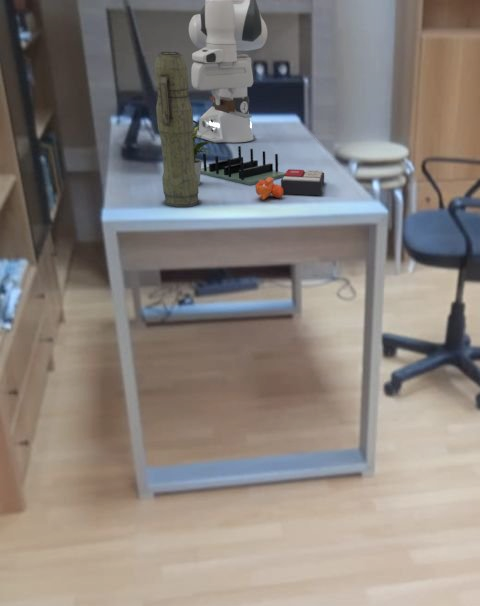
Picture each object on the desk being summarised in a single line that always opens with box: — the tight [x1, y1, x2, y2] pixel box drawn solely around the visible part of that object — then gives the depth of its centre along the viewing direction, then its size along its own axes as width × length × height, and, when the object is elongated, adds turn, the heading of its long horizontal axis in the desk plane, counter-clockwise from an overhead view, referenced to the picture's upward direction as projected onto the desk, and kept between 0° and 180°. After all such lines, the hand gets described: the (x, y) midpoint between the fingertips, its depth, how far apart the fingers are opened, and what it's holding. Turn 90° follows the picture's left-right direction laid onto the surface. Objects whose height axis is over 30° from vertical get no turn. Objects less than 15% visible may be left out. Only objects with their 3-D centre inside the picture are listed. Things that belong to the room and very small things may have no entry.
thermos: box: [154, 51, 200, 208], centre depth 194 cm, size 9×12×35 cm
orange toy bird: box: [254, 177, 284, 201], centre depth 210 cm, size 5×8×12 cm
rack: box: [200, 145, 286, 186], centre depth 231 cm, size 22×16×6 cm
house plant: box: [192, 126, 214, 186], centre depth 215 cm, size 14×14×16 cm
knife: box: [214, 97, 253, 119], centre depth 238 cm, size 17×2×4 cm, turn 41°
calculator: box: [280, 168, 325, 196], centre depth 220 cm, size 11×4×15 cm
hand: (224, 104), depth 240 cm, fingers closed on knife, 2 cm apart
